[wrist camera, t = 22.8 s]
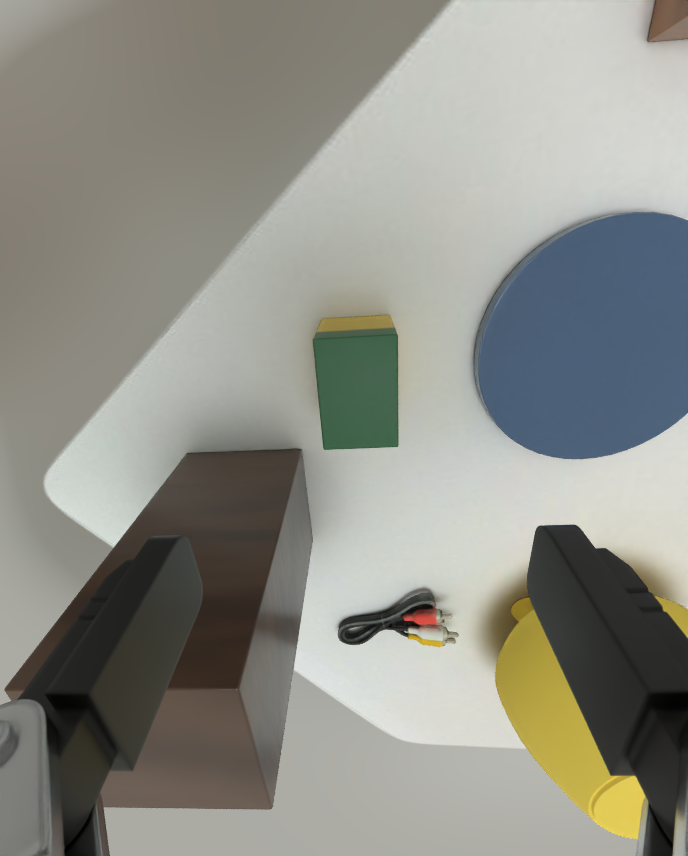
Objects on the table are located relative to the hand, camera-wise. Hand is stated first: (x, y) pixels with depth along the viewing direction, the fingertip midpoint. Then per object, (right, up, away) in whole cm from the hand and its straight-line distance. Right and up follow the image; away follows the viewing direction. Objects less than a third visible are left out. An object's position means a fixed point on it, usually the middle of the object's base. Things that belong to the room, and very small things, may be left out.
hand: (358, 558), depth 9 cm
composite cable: (+4, -12, +25) cm, 28 cm away
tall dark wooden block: (-7, -2, +20) cm, 21 cm away
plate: (+14, +8, +14) cm, 22 cm away
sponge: (+1, +7, +15) cm, 17 cm away
